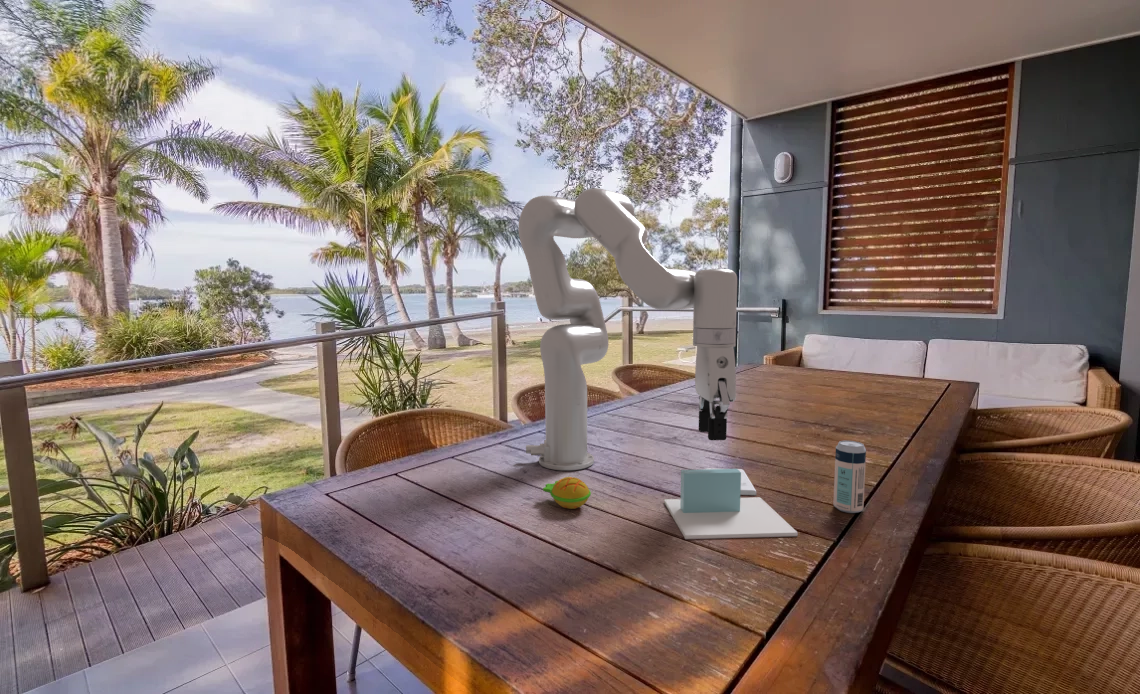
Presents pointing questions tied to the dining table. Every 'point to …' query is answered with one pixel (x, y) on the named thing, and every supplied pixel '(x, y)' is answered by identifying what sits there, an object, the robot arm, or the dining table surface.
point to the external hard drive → (744, 484)
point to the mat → (731, 521)
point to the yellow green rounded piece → (569, 492)
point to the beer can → (849, 476)
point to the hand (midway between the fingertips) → (711, 434)
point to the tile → (710, 490)
